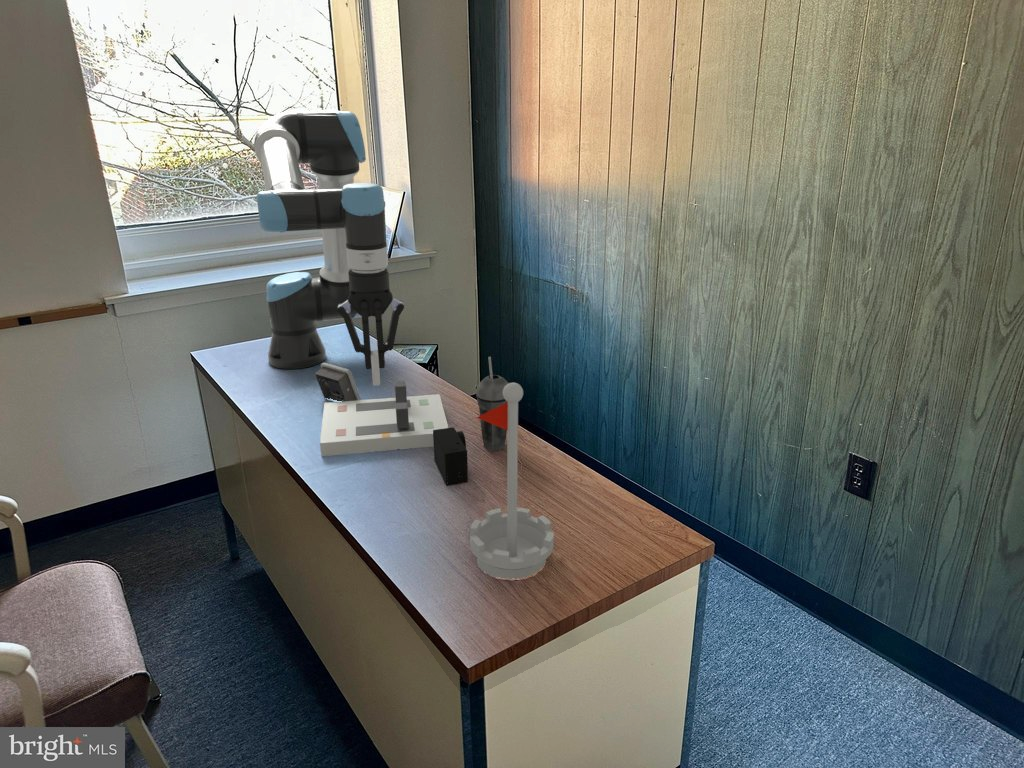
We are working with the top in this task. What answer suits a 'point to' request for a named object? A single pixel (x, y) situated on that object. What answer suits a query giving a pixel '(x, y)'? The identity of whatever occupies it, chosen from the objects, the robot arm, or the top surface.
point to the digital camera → (451, 455)
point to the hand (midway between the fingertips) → (376, 382)
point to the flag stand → (510, 512)
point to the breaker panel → (379, 425)
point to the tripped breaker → (402, 415)
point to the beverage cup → (488, 400)
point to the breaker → (400, 391)
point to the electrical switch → (337, 383)
